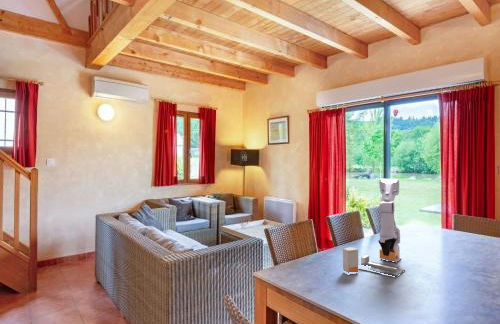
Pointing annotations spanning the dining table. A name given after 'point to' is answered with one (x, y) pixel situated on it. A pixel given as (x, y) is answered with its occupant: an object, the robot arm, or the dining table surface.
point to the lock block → (392, 255)
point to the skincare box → (350, 259)
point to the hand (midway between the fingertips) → (387, 254)
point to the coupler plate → (381, 267)
